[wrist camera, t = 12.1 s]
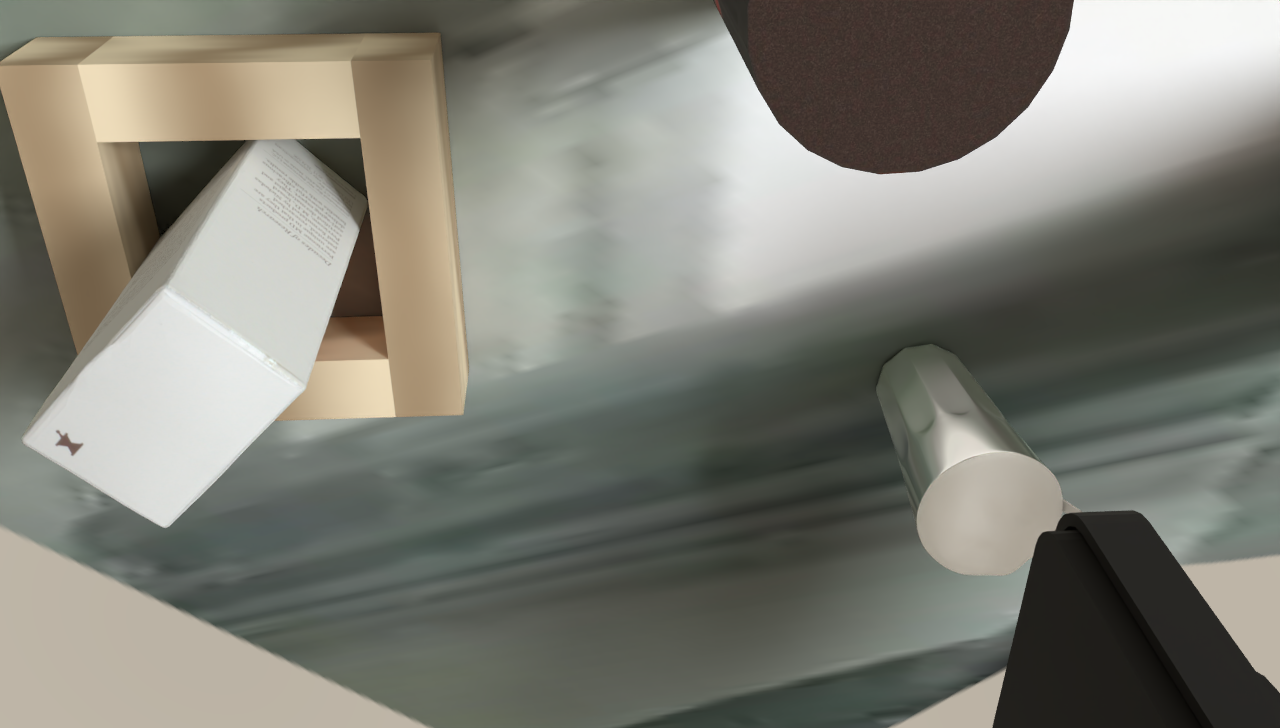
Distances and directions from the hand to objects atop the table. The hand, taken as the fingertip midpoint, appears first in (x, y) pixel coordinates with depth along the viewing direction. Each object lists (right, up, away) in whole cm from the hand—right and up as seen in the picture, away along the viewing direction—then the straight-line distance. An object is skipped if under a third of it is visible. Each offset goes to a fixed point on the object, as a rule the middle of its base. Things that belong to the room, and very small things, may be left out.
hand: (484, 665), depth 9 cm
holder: (-11, +7, +28) cm, 31 cm away
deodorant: (+5, +17, +24) cm, 29 cm away
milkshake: (+12, +2, +33) cm, 35 cm away
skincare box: (-11, +7, +28) cm, 31 cm away
